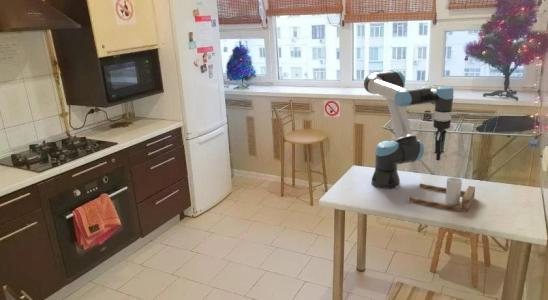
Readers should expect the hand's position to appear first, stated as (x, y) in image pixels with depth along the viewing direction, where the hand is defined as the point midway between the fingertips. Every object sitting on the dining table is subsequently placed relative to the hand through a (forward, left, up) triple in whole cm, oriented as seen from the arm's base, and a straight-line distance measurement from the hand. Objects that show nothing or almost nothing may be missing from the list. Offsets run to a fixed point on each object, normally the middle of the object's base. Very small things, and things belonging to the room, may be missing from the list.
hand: (437, 165), depth 209 cm
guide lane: (+2, 0, -18) cm, 18 cm away
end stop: (+15, 0, -18) cm, 23 cm away
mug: (+8, 0, -18) cm, 20 cm away
